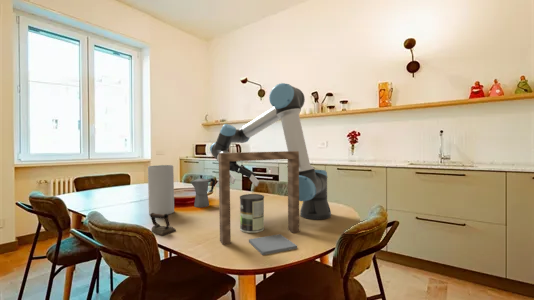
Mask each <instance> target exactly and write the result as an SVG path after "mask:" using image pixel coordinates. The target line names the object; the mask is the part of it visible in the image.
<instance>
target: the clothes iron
mask: <svg viewBox="0 0 534 300" xmlns="http://www.w3.org/2000/svg"><path fill="white" fill-rule="evenodd" d="M149 216H150V219H151V221H152V225H153V226H152V228H151V232H152V234H155V235H157V236H160V237H164V236H166V235H168V234H169V235H170V234H172V233H176V231H177V229H176V228H175V227H173V226H170V224H171V223H170V220H169V214H155V213H151V215H150V214H149ZM156 219H163V220H164V222H165V225H160V224H159V222H158V223H157V221H156Z"/></svg>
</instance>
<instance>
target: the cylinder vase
mask: <svg viewBox="0 0 534 300" xmlns="http://www.w3.org/2000/svg"><path fill="white" fill-rule="evenodd" d="M174 180H175V178H174V165H173V164H172V165H171V164H161V165H148V166H147V182H148V183H147V186H148V187H147V188H148V214H149V216H150V215H151V213H155V214H168V215H171V214H173V213H174V212H175V186H174V185H175V184H174V182H175V181H174Z"/></svg>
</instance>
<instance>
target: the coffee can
mask: <svg viewBox="0 0 534 300" xmlns="http://www.w3.org/2000/svg"><path fill="white" fill-rule="evenodd" d="M264 201H265V196H264V194H260V193H259V194H258V193H248V194H247V193H246V194H242V195H240V196H239V203H240V204H239V206H240V207H239V209H240V211H239V212H240V213H239V218H240V228H239V229H240V231H241V232H242V233H247V234H257V233H261V232H263V231H264V230H265V210H264V209H265V206H264V205H265V202H264Z"/></svg>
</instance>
